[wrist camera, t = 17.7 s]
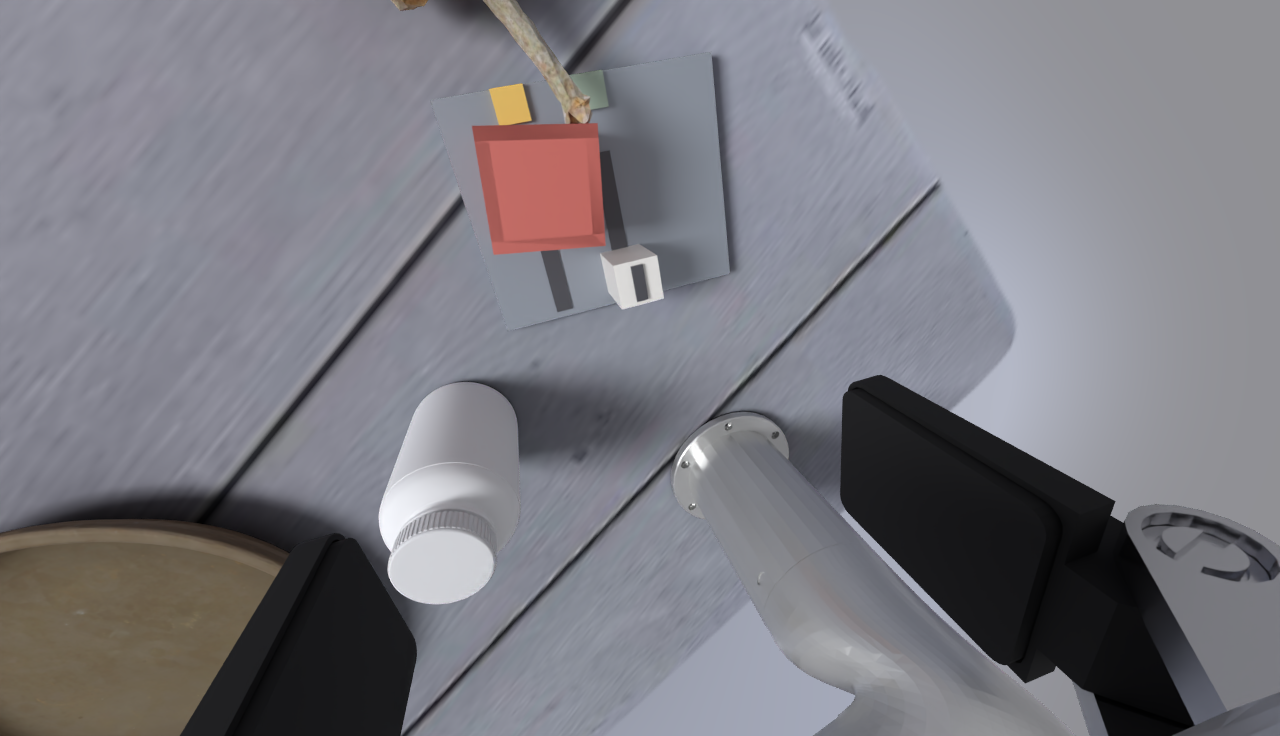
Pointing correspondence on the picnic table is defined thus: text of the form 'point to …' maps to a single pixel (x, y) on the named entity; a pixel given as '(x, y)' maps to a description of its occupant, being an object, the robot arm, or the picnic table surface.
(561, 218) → the cap
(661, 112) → the breaker panel
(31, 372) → the picnic table surface
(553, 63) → the pine cone
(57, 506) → the picnic table surface
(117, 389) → the picnic table surface
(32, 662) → the plant saucer
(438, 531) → the pill bottle
